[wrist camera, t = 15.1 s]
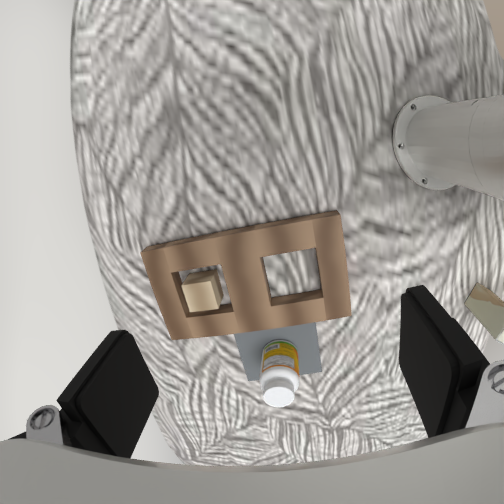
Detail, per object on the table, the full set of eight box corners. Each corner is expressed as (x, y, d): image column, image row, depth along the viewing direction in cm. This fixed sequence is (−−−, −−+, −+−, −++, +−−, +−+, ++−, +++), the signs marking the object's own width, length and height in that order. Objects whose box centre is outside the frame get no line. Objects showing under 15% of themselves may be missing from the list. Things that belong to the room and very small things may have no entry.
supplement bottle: (290, 369, 46) (290, 414, 37) (257, 360, 46) (252, 405, 37) (303, 344, 45) (306, 389, 35) (269, 334, 44) (265, 378, 35)
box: (493, 291, 39) (528, 325, 29) (480, 313, 41) (512, 349, 31) (476, 281, 39) (513, 315, 29) (462, 303, 41) (495, 341, 30)
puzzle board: (336, 210, 38) (340, 214, 36) (348, 306, 42) (351, 315, 40) (147, 246, 42) (140, 252, 40) (176, 330, 46) (172, 339, 44)
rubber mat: (314, 318, 43) (315, 320, 43) (321, 369, 47) (321, 371, 46) (233, 330, 45) (233, 332, 45) (248, 378, 48) (248, 380, 48)
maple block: (216, 268, 42) (210, 281, 39) (223, 294, 44) (218, 308, 40) (189, 273, 43) (181, 285, 39) (197, 298, 44) (190, 312, 40)
